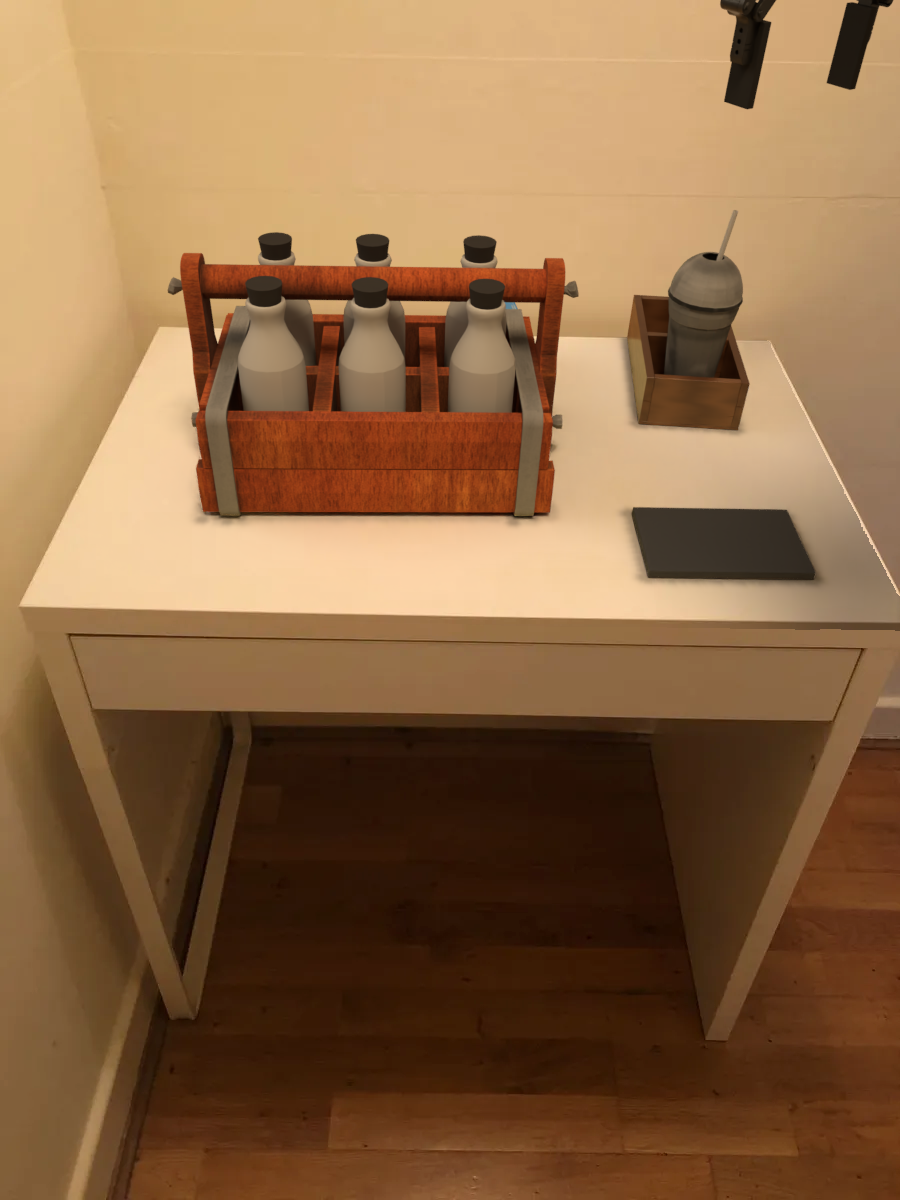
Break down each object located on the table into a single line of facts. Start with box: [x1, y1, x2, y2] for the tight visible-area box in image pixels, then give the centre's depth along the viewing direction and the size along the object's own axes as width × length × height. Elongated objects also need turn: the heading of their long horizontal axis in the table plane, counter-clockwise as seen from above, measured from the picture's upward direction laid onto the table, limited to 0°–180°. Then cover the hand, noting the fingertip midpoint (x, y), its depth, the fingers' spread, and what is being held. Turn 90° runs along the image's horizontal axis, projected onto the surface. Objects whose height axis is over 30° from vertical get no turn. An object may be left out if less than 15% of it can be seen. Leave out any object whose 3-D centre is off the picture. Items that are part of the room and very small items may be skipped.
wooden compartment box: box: [626, 294, 751, 431], centre depth 106 cm, size 10×19×5 cm, turn 176°
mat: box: [631, 506, 817, 581], centre depth 85 cm, size 14×9×1 cm, turn 91°
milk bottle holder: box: [167, 231, 580, 517], centre depth 88 cm, size 21×35×19 cm, turn 92°
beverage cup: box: [664, 209, 744, 378], centre depth 97 cm, size 7×7×20 cm
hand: (791, 95), depth 88 cm, fingers open, 13 cm apart
